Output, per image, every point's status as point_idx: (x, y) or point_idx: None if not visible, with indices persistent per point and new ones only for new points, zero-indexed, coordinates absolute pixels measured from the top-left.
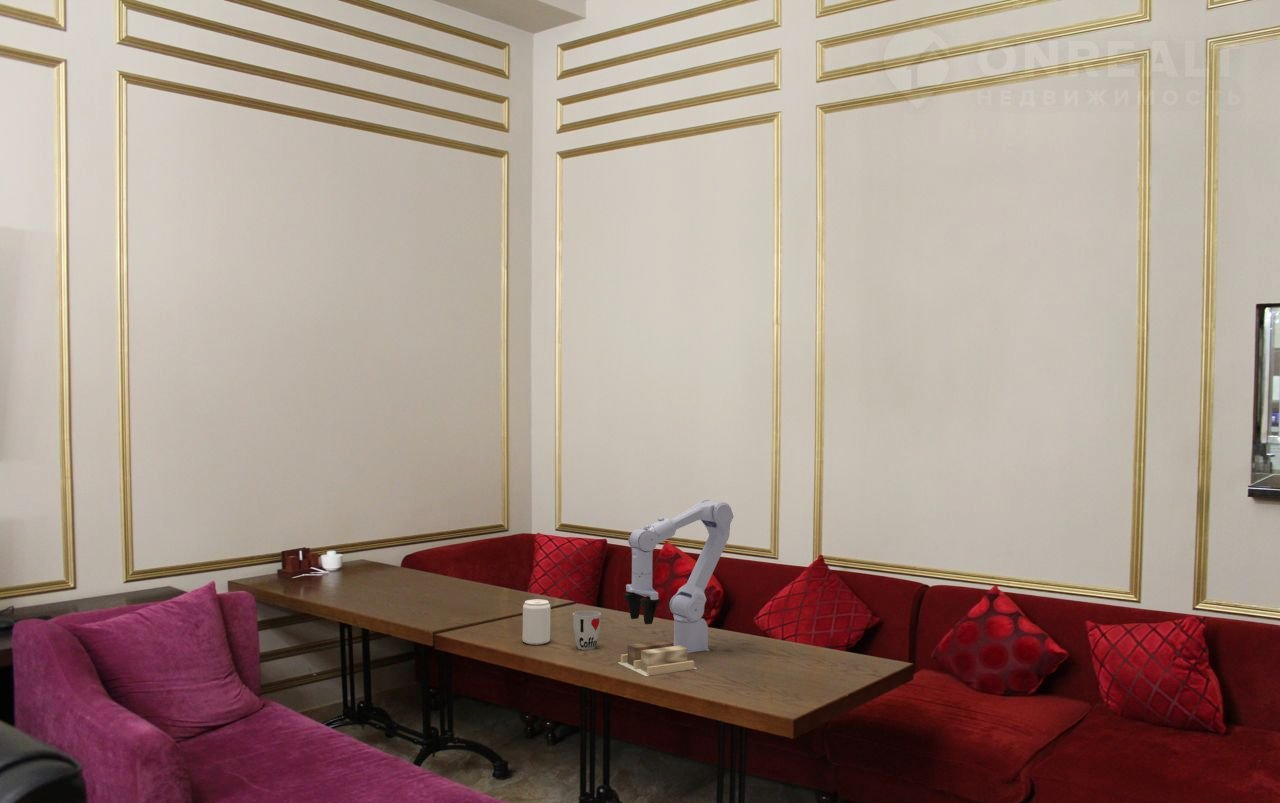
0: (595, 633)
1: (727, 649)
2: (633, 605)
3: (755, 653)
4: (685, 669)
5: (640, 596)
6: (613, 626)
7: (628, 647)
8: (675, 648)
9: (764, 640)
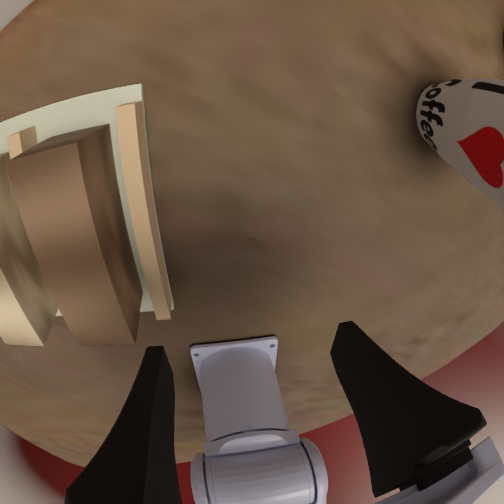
0: (451, 139)
1: None
2: (377, 404)
3: None
4: None
5: (378, 474)
6: (493, 284)
7: (73, 141)
8: (3, 317)
9: None
